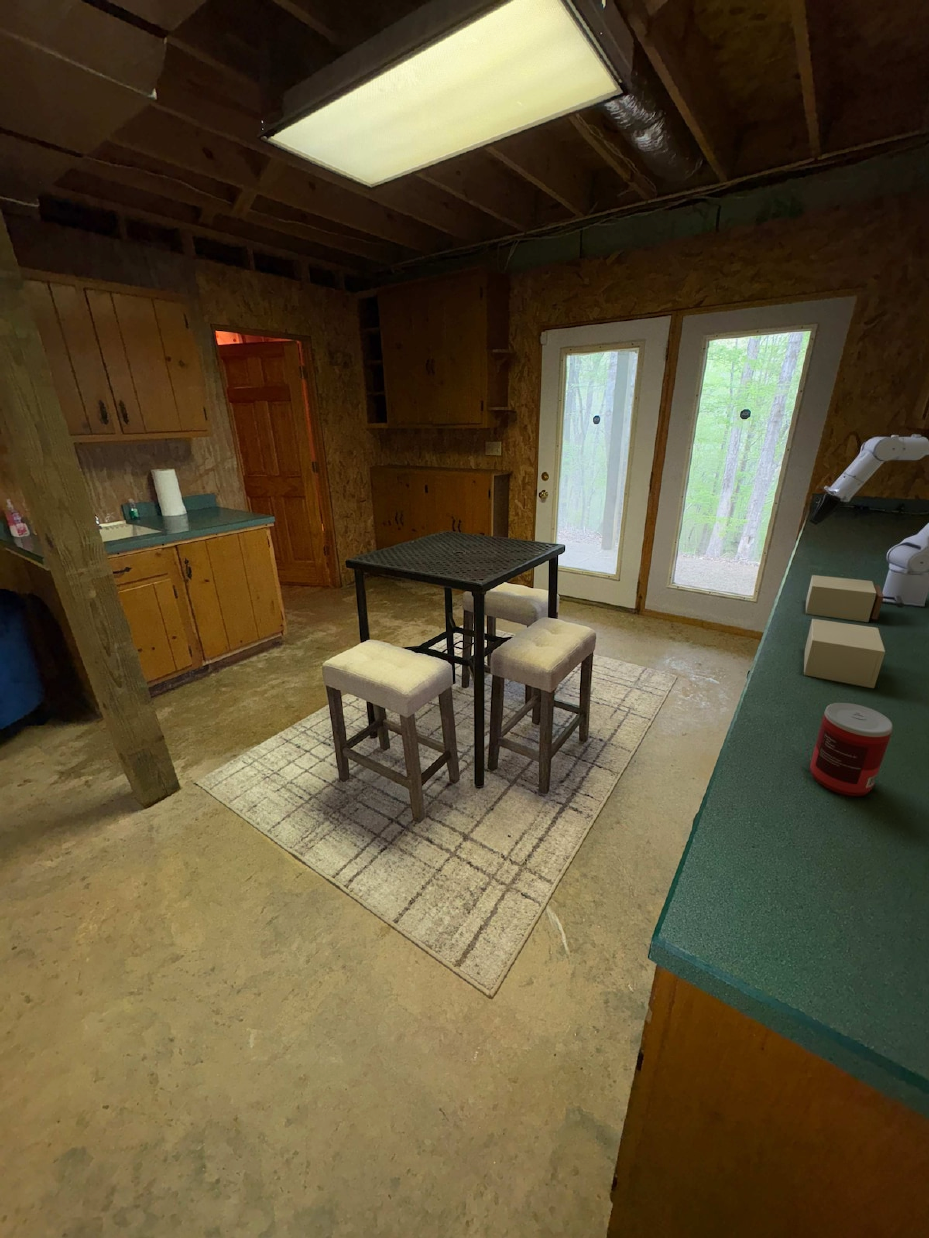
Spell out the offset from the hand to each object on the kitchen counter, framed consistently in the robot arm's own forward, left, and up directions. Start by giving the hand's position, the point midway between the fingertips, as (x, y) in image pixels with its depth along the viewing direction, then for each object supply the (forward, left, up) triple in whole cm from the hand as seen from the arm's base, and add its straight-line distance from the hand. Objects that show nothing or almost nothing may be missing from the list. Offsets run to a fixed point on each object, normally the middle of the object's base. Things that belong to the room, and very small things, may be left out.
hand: (813, 522), depth 136 cm
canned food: (-7, +89, -23) cm, 92 cm away
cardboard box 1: (-9, +7, -23) cm, 26 cm away
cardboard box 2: (-8, +47, -23) cm, 53 cm away
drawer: (-14, +7, -22) cm, 27 cm away
